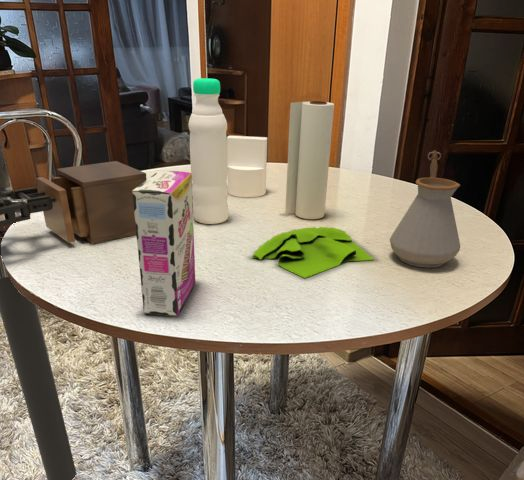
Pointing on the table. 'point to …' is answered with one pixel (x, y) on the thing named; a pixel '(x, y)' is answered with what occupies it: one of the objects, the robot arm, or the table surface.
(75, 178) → the cabinet
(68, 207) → the drawer
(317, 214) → the paper towel roll
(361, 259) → the cloth
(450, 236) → the coffee pot
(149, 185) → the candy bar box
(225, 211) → the water bottle
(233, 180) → the cylinder with rectangular tab
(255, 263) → the table surface
